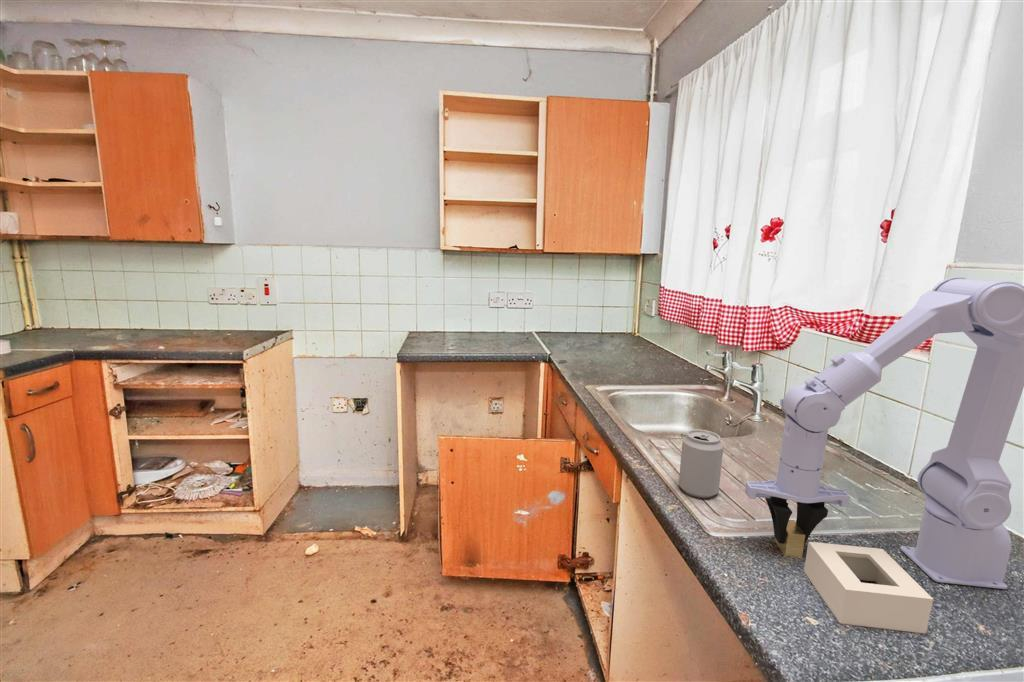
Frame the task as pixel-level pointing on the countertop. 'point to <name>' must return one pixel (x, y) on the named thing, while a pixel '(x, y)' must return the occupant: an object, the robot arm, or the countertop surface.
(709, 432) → the can
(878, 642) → the countertop surface
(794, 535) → the block
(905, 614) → the box
